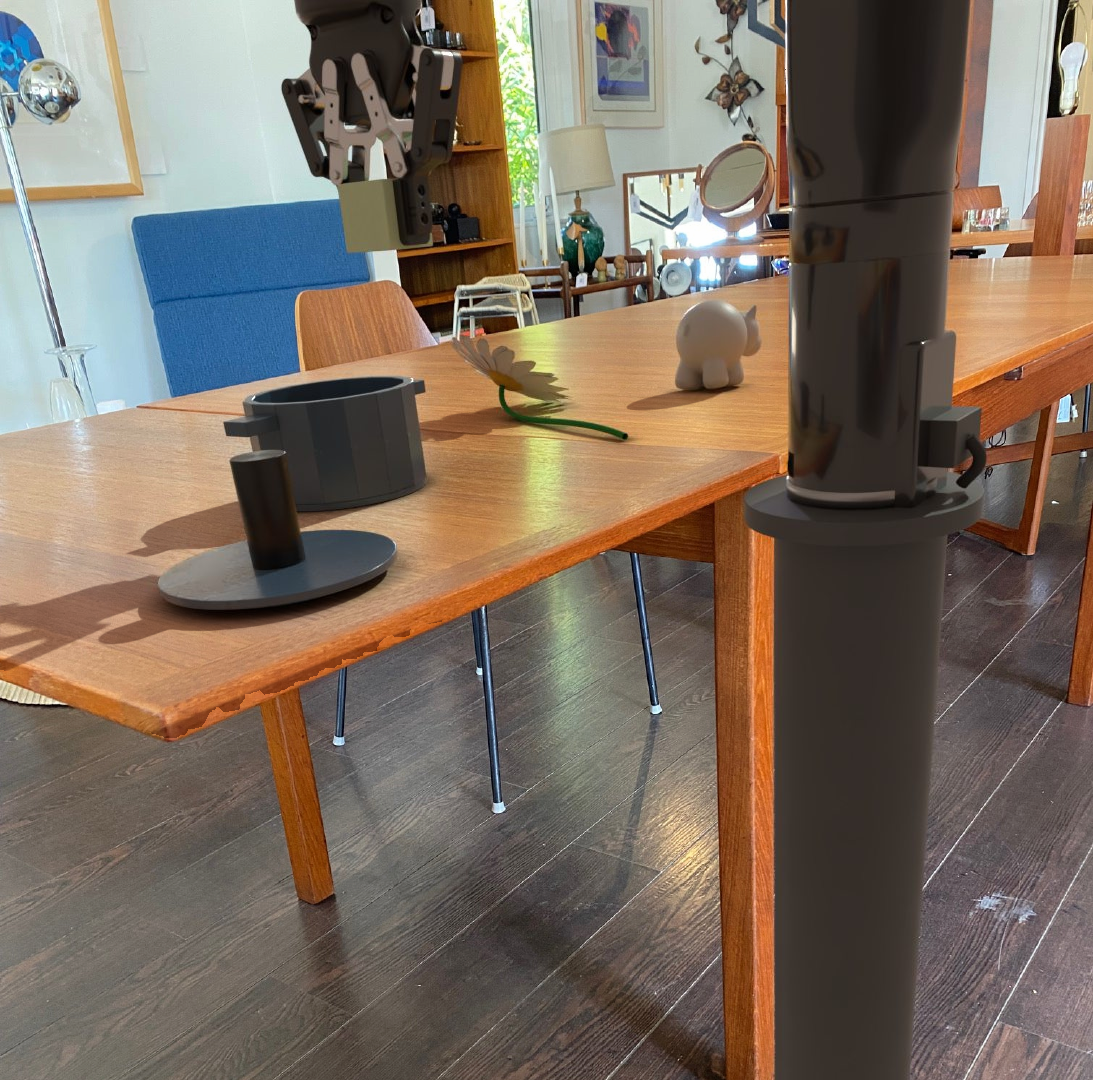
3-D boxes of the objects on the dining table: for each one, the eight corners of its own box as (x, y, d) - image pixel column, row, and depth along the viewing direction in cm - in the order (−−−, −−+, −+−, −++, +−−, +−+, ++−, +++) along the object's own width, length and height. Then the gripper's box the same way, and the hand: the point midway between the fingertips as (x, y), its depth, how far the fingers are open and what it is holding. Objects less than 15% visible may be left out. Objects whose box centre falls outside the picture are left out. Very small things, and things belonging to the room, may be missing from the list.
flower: (585, 371, 85) (437, 316, 108) (554, 435, 86) (415, 367, 109) (697, 437, 93) (537, 373, 116) (667, 495, 94) (515, 420, 117)
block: (433, 245, 70) (425, 177, 68) (390, 250, 67) (381, 179, 65) (389, 248, 72) (381, 182, 70) (346, 253, 69) (336, 184, 67)
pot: (482, 468, 84) (470, 370, 81) (312, 527, 72) (290, 413, 69) (373, 461, 91) (358, 370, 88) (201, 513, 79) (177, 409, 76)
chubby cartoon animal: (788, 375, 113) (788, 289, 110) (718, 394, 106) (716, 303, 103) (733, 374, 118) (732, 291, 115) (663, 392, 111) (659, 305, 107)
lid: (447, 559, 62) (430, 434, 59) (265, 635, 53) (234, 492, 49) (295, 538, 70) (274, 427, 67) (114, 602, 60) (79, 476, 57)
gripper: (483, -94, 61) (510, 237, 68) (314, -43, 69) (355, 248, 76) (390, -116, 55) (430, 245, 63) (220, -58, 63) (273, 256, 71)
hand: (389, 245), depth 69 cm, fingers closed on block, 4 cm apart
